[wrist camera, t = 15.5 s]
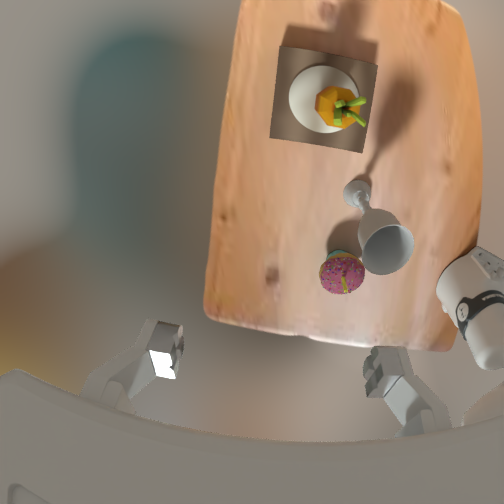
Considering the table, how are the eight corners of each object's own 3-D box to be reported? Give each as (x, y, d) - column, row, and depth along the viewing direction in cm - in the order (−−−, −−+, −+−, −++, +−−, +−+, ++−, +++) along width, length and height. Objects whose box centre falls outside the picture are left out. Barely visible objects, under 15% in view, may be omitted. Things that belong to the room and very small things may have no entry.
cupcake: (311, 249, 55) (316, 291, 45) (354, 235, 52) (368, 275, 42) (324, 282, 59) (331, 326, 49) (364, 269, 56) (377, 312, 46)
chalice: (350, 167, 45) (382, 215, 30) (383, 184, 46) (424, 237, 31) (330, 203, 49) (350, 264, 34) (363, 218, 50) (392, 281, 35)
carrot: (338, 81, 34) (367, 82, 22) (346, 114, 37) (378, 133, 24) (303, 88, 35) (316, 91, 23) (313, 121, 38) (329, 142, 25)
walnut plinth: (370, 66, 36) (378, 65, 32) (356, 147, 43) (363, 154, 40) (279, 48, 36) (279, 45, 32) (270, 133, 44) (269, 138, 40)
